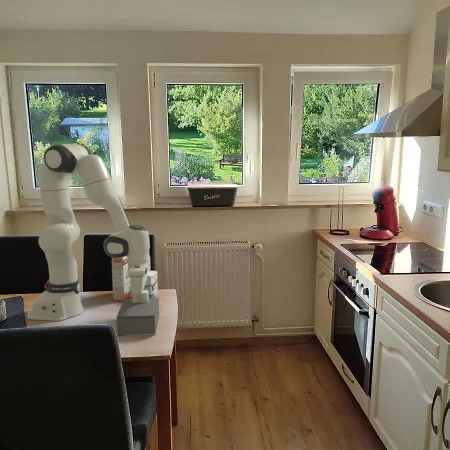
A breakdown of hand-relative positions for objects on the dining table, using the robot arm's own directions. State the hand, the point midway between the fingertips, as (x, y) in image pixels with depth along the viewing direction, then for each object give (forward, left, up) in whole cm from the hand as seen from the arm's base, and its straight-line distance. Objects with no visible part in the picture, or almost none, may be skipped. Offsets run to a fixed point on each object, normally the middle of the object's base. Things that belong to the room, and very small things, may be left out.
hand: (140, 298), depth 169 cm
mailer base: (0, -6, -9) cm, 11 cm away
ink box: (+1, +26, -9) cm, 28 cm away
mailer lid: (0, -6, -2) cm, 6 cm away
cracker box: (-11, +28, -9) cm, 31 cm away
